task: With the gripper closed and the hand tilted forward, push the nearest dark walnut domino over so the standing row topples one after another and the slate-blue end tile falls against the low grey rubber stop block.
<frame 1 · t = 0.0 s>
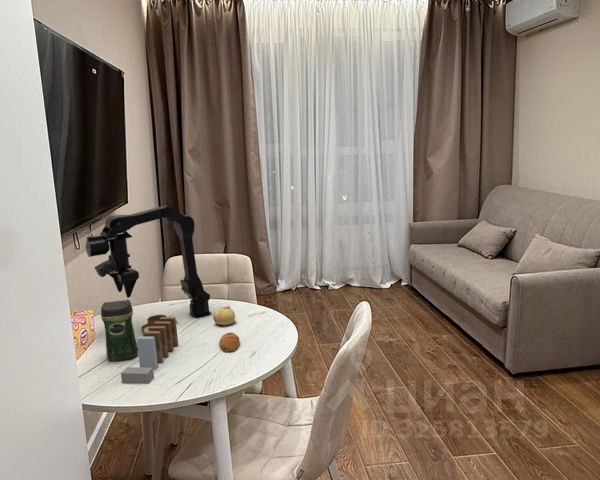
hand: (124, 294, 190), 15 cm above the table, tool pointing down, fingers open, 9 cm apart
domino 3: (160, 356, 171), on the table
domino 4: (154, 362, 167), on the table
coffee jar: (122, 357, 173), on the table
stop block: (138, 379, 155), on the table
onion: (224, 324, 198), on the table
domino 2: (165, 351, 175), on the table
pastry: (230, 347, 177), on the table
domino 1: (170, 346, 179), on the table
place setting: (153, 328, 199), on the table
domino 5: (149, 368, 163), on the table
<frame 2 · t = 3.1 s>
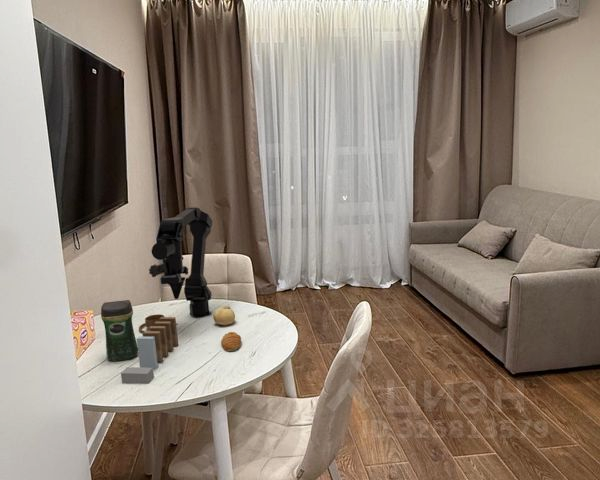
hand: (176, 298, 189), 13 cm above the table, tool pointing down, fingers closed
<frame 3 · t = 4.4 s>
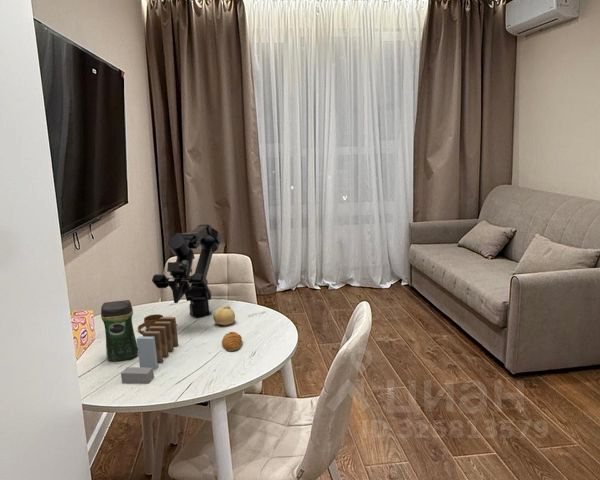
hand: (175, 302, 184), 13 cm above the table, tool tilted 45°, fingers closed
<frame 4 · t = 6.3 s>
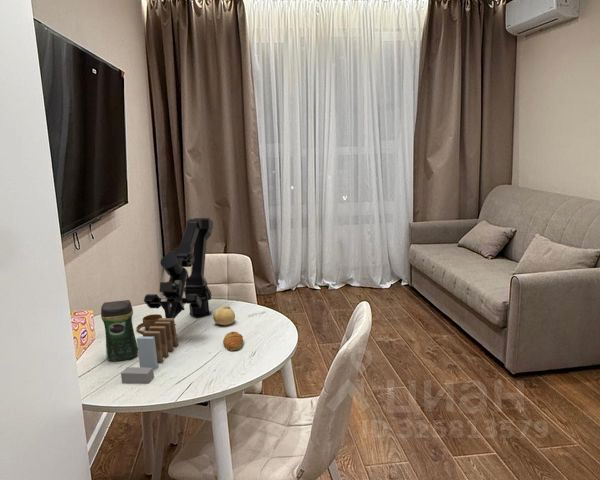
hand: (167, 324, 177), 8 cm above the table, tool tilted 45°, fingers closed
domino 1: (170, 345, 179), on the table, tilted 8°
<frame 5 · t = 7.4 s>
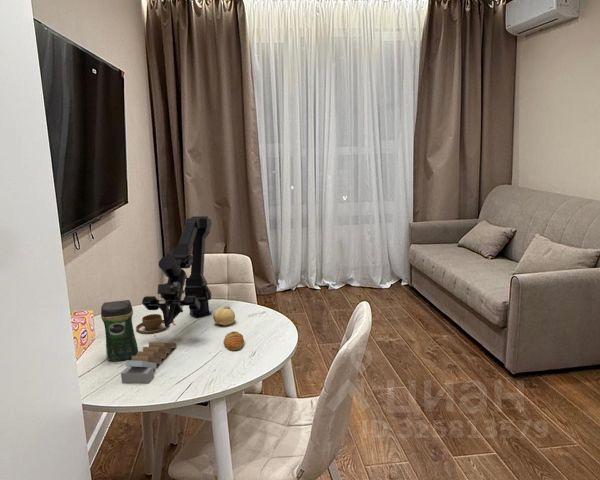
hand: (166, 326, 176), 8 cm above the table, tool tilted 45°, fingers closed
domino 3: (158, 355, 170), point 1 cm above the table, tilted 63°, touching domino 2, domino 4
domino 4: (153, 361, 166), point 1 cm above the table, tilted 61°, touching domino 3, domino 5
domino 2: (163, 350, 174), point 1 cm above the table, tilted 64°, touching domino 1, domino 3
domino 1: (168, 345, 178), point 1 cm above the table, tilted 66°, touching domino 2
domino 5: (148, 365, 162), point 1 cm above the table, tilted 61°, touching domino 4, stop block
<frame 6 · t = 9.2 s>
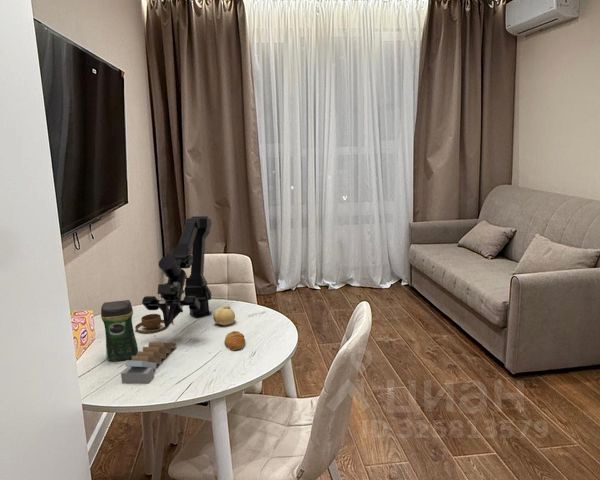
hand: (166, 326, 176), 8 cm above the table, tool tilted 45°, fingers closed
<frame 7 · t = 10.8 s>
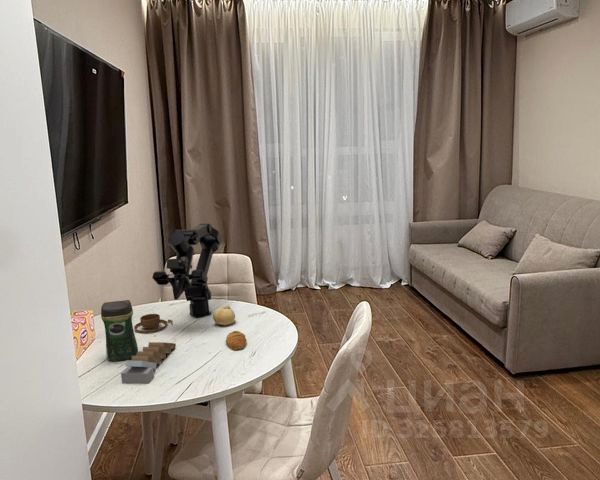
hand: (175, 299, 185), 14 cm above the table, tool tilted 45°, fingers closed
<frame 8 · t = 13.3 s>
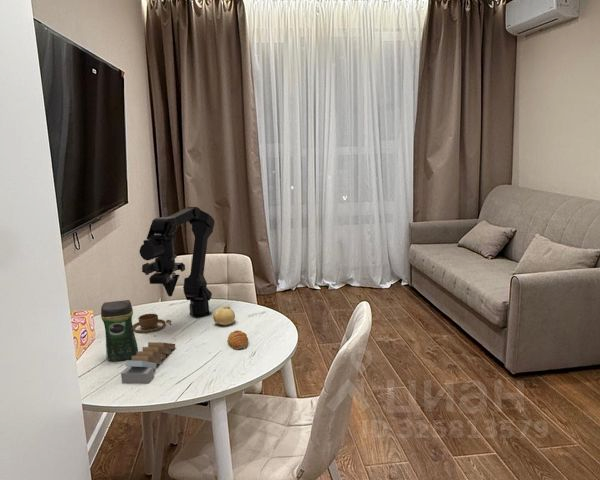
hand: (170, 296, 191), 13 cm above the table, tool pointing down, fingers closed
at the end: domino 5 tilted 61°; domino 1 tilted 65° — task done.
